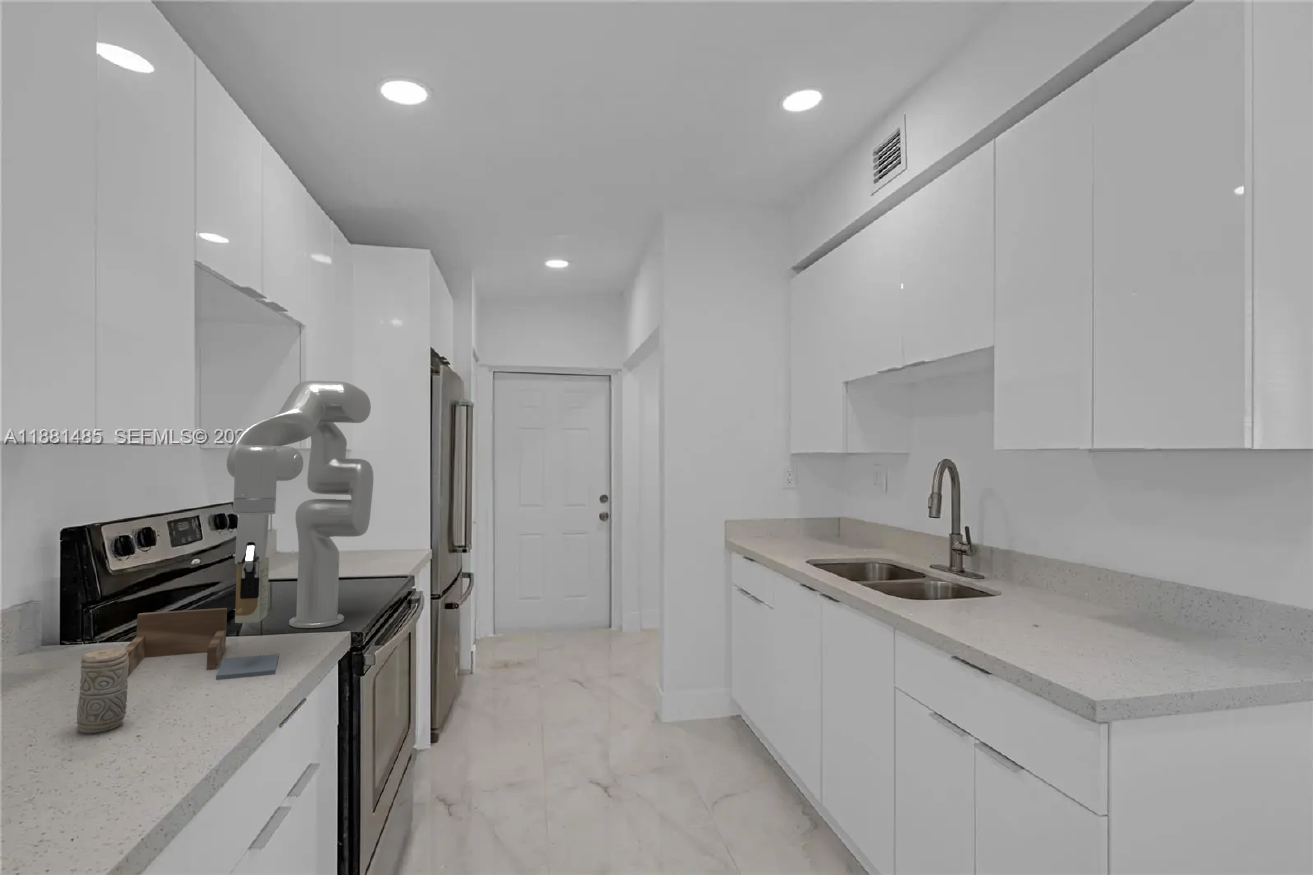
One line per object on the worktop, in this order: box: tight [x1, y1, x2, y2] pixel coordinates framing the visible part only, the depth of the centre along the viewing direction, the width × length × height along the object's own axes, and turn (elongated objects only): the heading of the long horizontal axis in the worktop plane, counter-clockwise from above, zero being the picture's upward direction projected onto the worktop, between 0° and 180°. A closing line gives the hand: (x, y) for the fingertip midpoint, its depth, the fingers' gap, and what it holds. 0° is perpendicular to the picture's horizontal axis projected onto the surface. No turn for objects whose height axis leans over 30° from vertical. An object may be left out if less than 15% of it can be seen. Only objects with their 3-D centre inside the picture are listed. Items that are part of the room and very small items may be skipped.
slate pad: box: [215, 653, 280, 681], centre depth 143 cm, size 12×10×1 cm
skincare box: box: [234, 557, 270, 624], centre depth 143 cm, size 6×4×12 cm
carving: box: [76, 646, 129, 734], centre depth 112 cm, size 6×8×12 cm
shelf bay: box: [124, 607, 228, 677], centre depth 145 cm, size 16×16×9 cm
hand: (251, 594), depth 143 cm, fingers closed on skincare box, 6 cm apart
